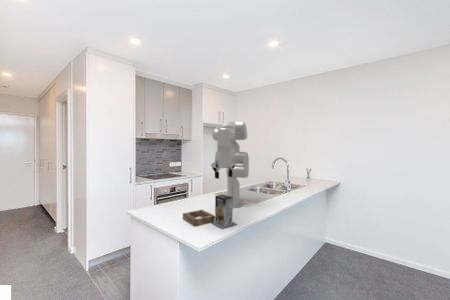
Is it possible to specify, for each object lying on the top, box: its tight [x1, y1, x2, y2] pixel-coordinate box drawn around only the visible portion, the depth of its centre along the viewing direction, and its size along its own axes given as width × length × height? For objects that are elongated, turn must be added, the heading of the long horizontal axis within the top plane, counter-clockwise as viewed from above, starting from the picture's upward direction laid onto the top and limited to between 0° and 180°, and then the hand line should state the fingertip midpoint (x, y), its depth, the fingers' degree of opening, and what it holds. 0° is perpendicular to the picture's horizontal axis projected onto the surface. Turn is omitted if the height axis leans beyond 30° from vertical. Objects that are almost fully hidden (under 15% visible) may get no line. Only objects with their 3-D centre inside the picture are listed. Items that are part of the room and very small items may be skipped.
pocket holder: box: [182, 209, 215, 227], centre depth 131 cm, size 14×16×4 cm
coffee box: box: [214, 194, 234, 226], centre depth 124 cm, size 9×6×16 cm
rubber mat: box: [211, 221, 238, 230], centre depth 124 cm, size 11×11×1 cm
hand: (223, 177), depth 124 cm, fingers open, 9 cm apart
